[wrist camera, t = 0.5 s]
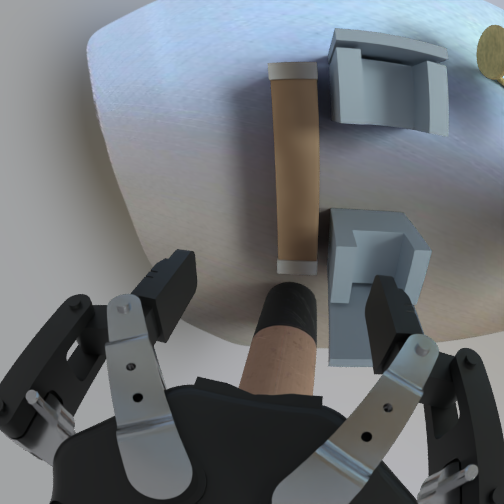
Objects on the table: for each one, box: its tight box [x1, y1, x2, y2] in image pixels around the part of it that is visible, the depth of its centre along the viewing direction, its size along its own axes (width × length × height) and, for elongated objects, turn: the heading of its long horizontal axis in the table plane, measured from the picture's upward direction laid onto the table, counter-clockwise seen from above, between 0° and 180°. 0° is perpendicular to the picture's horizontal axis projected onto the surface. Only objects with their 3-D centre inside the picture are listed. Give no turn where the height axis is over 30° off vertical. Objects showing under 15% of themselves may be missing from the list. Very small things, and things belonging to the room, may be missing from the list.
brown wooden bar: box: [268, 62, 320, 275], centre depth 26 cm, size 4×21×6 cm, turn 4°
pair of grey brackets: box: [327, 28, 449, 367], centre depth 20 cm, size 9×25×16 cm, turn 3°
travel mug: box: [239, 282, 317, 396], centre depth 29 cm, size 8×8×20 cm
